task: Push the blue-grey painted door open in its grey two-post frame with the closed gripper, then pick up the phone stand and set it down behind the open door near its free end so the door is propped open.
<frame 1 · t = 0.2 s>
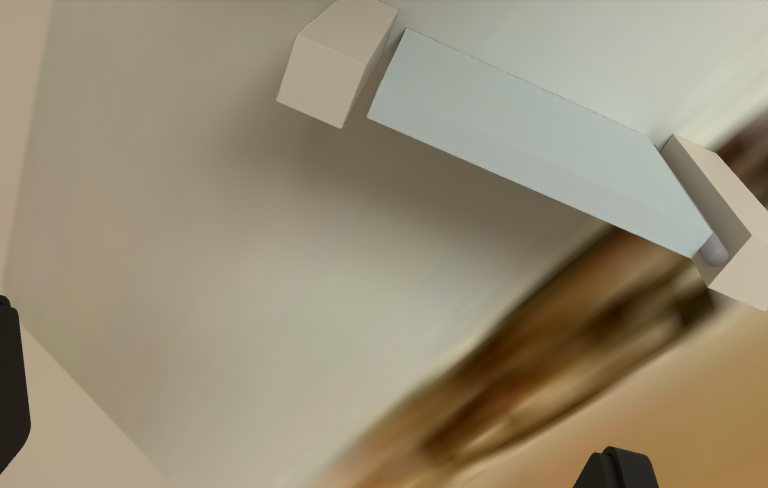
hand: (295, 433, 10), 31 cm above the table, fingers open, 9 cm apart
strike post: (365, 23, 36), on the table
hinge post: (679, 164, 38), on the table
door: (540, 134, 32), point 6 cm above the table, hinge at 0.0°
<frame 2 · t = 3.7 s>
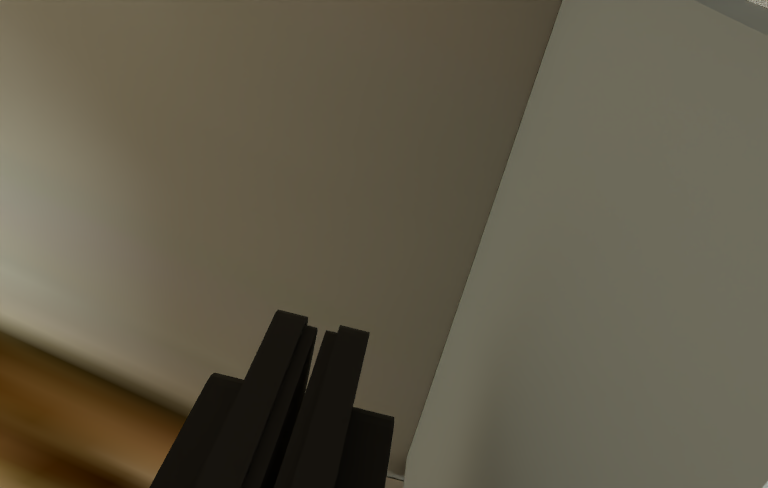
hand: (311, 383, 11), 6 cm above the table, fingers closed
door: (504, 465, 12), point 6 cm above the table, hinge at 0.1°, touching gripper
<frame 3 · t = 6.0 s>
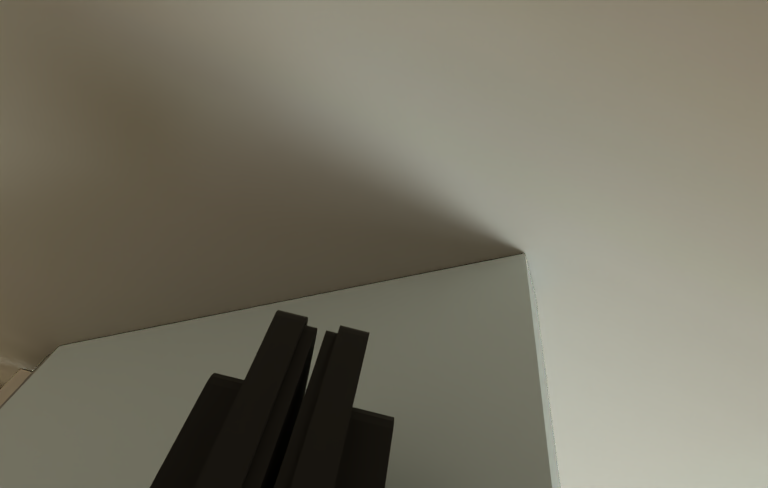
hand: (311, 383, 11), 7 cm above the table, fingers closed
hinge post: (62, 408, 23), on the table
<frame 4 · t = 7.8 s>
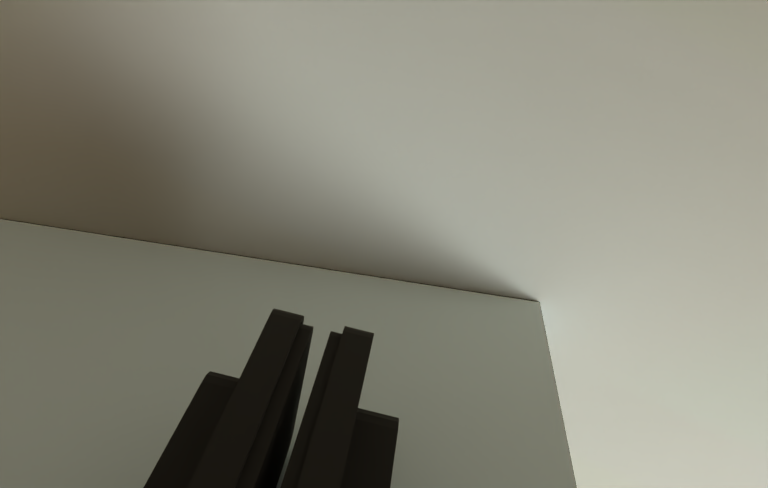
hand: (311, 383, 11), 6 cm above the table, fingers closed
door: (142, 447, 12), point 6 cm above the table, hinge at 84.9°, touching gripper, hinge post
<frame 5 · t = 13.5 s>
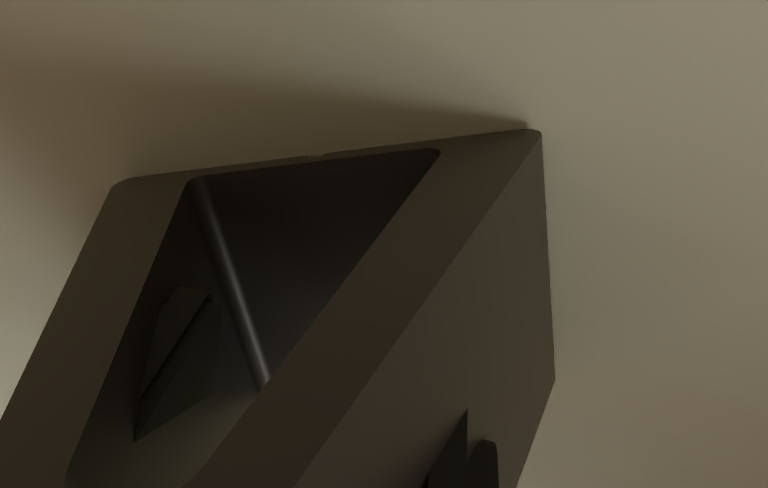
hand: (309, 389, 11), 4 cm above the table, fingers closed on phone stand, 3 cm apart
phone stand: (347, 271, 14), on the table, touching gripper
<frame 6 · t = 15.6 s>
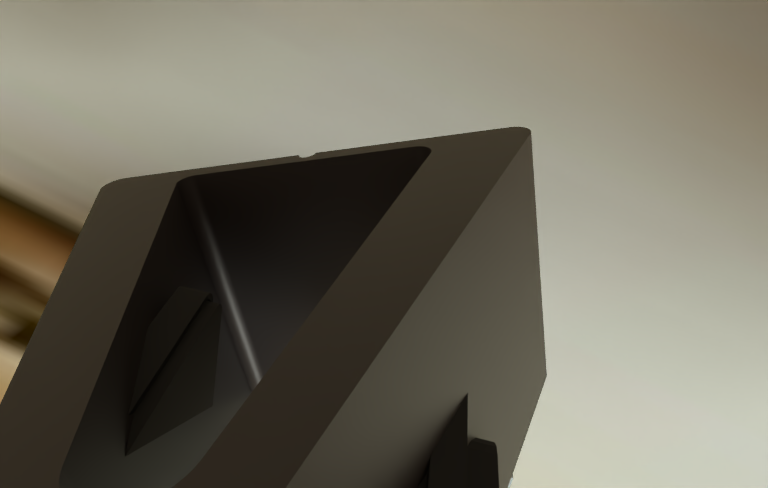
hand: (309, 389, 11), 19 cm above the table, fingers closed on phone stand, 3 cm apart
phone stand: (338, 270, 14), point 15 cm above the table, touching gripper
door: (304, 345, 27), point 6 cm above the table, hinge at 85.1°, touching hinge post
when the fingers open (5 cm above the table, at t = 18.0 s): phone stand drops 2 cm, on the table.
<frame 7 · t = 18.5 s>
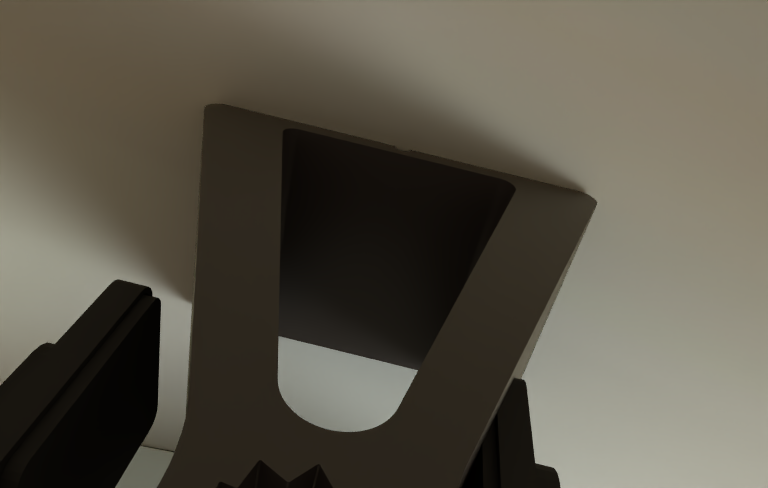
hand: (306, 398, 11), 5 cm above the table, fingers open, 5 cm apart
phone stand: (377, 252, 16), on the table
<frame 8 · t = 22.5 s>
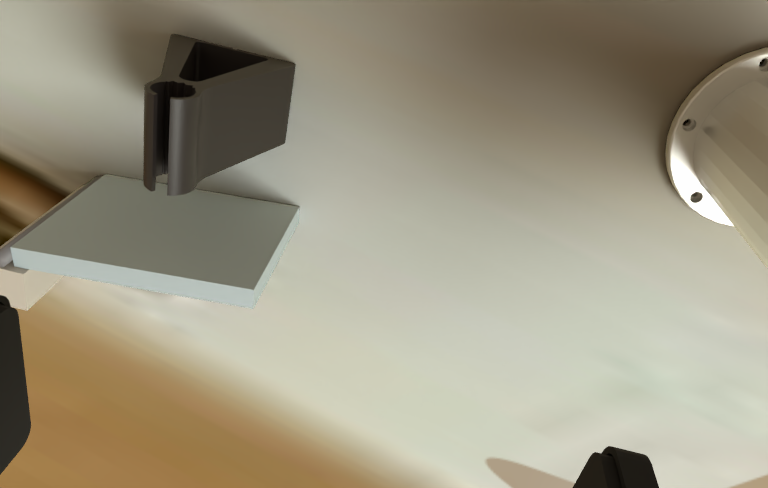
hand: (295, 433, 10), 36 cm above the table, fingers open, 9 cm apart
hinge post: (101, 204, 52), on the table
phone stand: (232, 88, 46), on the table
door: (162, 234, 45), point 6 cm above the table, hinge at 85.1°, touching hinge post
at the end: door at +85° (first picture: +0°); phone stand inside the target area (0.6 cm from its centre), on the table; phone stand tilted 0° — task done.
